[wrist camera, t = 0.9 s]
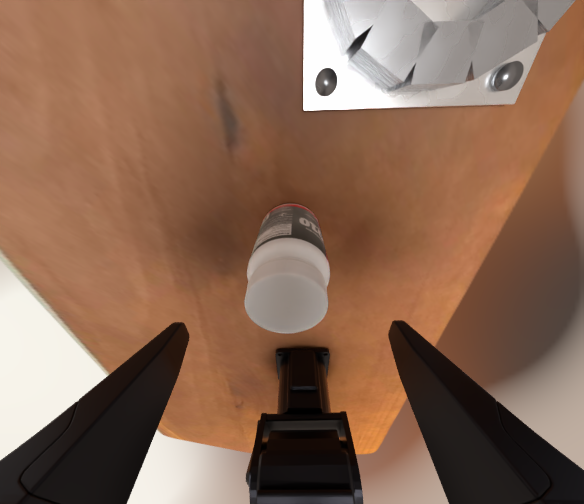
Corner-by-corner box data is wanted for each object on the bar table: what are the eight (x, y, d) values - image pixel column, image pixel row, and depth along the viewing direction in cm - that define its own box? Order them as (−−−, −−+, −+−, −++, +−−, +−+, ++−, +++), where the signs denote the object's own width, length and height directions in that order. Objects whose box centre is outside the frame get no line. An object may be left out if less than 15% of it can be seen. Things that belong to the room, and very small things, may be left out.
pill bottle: (328, 241, 17) (352, 323, 10) (279, 262, 19) (269, 348, 12) (304, 190, 15) (313, 250, 8) (250, 217, 16) (216, 291, 9)
